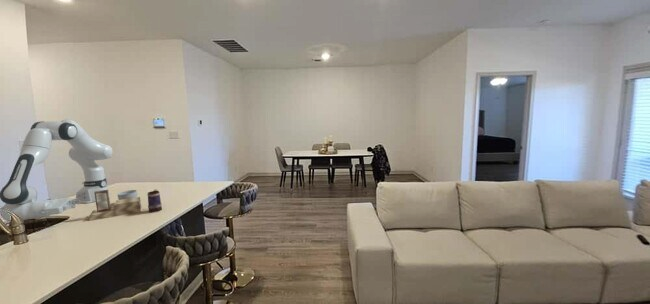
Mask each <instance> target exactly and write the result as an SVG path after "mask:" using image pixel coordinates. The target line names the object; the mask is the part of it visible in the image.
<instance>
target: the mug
mask: <svg viewBox="0 0 650 304" xmlns="http://www.w3.org/2000/svg"><path fill="white" fill-rule="evenodd" d="M147 204H148V205H147V207H148V212H149V213H158V212H160V211H162V209H163V207H162V201H161V194H160V191H159V190H158V189H154V190H151V191H149V192H147Z"/></svg>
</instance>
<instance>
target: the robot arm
mask: <svg viewBox="0 0 650 304" xmlns="http://www.w3.org/2000/svg"><path fill="white" fill-rule="evenodd" d="M52 141H67V142H68V144H69V145H70V146H71V147H70V149H69V151H68V157H69V158H70V159H71V160H72V161H74V162H76V163H77V164H78V165H79V166H80V168H81V169H82V171H83V175H84V181H82V183H81V184H82V185H83V187H81V188H80V189H79V190H78V191H76V194H75V197H76V198H75V199H71V197H68V198H67V197H65V198H55V199H53V198H48V199H44V200H38V201H37V199H38V192H37V190H36V189H35V188H34V187H31V186H28V185H27V184H28V180H29V177H30V175H31V171H32V170H33V169H34V168H35V166H37V165H39V164H42V163H44V162H45V161H46V160H47V159H48V156H49V154H50V150H51V147H52ZM113 154H114V149H113V148H112V146H110V145H108V144H105V143H102V142H100V141H98V140H96V139H95V138H93V137H91V136H90V135H89V134H88V132H87V131H86V130H85V129H84V128H83V127H82V126H81V125H80V124H79V123H77V122H76V121H75V120H72V119H69V118H67V119H63V120H60V121H42V120H41V121H36V122H34V123H33V124H32V125H31V126H30V130H29V131H28V132H27V134H26V136H25V137H24V139H23V142H22V145H21V149H20V153H19V155H18V158H17V160H16V162H15V165H14V167H13V170H12V172H11V175H10V177H9V180H8V182H6V184H5V185H4V186H3V187H2V188H1V190H0V200H1V201H2V202H3V203H4V205H3V206H2V207H4V208H7V209H9V210H10V211H12V212H14V213H15V214H17V215H18V216H20V217H21V218H22V219H23V220H22V221H25V220H30V219H37V218H38V219H40V218H45V217H50V216H53V215H54V216H55V215H59V214H62V213H63V212H65V211H68V210H71V209H75V208H76V205H77V204H79V203H80V204H90V203H96V200H95V194H94V192H95V191H102V190H108V193H109V199H111V198H112V196H111V194H110V192H109V188H108V185H107V183H108V182H107V178H106V175H105V168H104V167H103V166H102V165H100V164H97V163H96V162H95V161H104V160H109V159H111V158H112V156H113ZM0 217H1V219H3V220H4V221H7V222H11V221H10V215H9V214H8V213H7V212H5V211H3V210H0Z"/></svg>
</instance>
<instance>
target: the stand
mask: <svg viewBox="0 0 650 304" xmlns="http://www.w3.org/2000/svg"><path fill="white" fill-rule="evenodd" d="M141 200H142V199H141V196H137V197H136V198H129V199H122V200H119V199H118V200H116V201H115V203H114V206H113V207H111V210H110V211H104V212H98V213H97V209H93V210H92V211H91V212H90V214H89V221H96V220H102V219H108V218H113V217H114V218H115V217H118V216H125V215H130V214H138V213H141V210H142V203H141V202H142V201H141Z"/></svg>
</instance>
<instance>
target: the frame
mask: <svg viewBox="0 0 650 304" xmlns="http://www.w3.org/2000/svg"><path fill="white" fill-rule="evenodd" d="M108 191H109V189H108V190H102V191H95V192H94V194H95V200H96V202H95V207H96V210H97V213H98V212H104V211H110V210H111V208H112V207H111V201H110V200H111V198H109V194H110V192H109V193H108Z"/></svg>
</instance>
